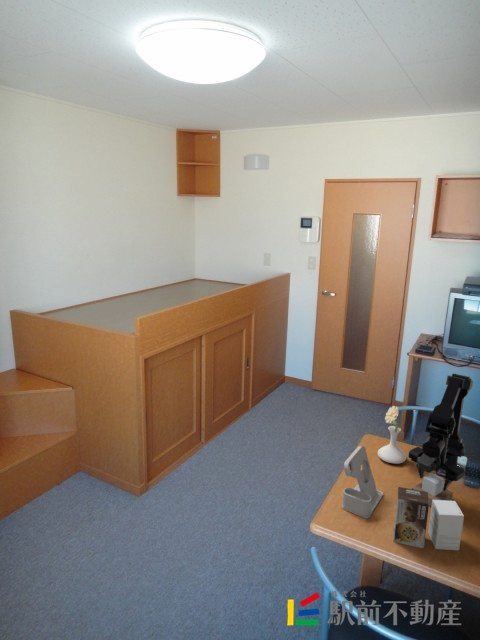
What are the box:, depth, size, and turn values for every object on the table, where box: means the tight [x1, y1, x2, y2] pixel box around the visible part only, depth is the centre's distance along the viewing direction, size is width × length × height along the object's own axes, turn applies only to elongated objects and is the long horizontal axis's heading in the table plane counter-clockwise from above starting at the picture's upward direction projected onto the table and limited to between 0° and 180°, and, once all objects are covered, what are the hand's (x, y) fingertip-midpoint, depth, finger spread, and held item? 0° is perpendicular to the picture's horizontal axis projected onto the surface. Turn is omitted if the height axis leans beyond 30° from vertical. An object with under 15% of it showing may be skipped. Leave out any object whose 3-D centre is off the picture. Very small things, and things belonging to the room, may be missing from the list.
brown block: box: [411, 481, 454, 508], centre depth 163 cm, size 10×10×3 cm
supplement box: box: [427, 500, 465, 551], centre depth 140 cm, size 7×7×13 cm
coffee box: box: [393, 486, 430, 549], centre depth 141 cm, size 9×6×16 cm
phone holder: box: [341, 445, 384, 519], centre depth 159 cm, size 17×10×18 cm, turn 145°
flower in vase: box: [377, 405, 407, 465], centre depth 184 cm, size 13×11×25 cm
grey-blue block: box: [422, 472, 445, 496], centre depth 162 cm, size 5×5×5 cm
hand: (432, 483), depth 162 cm, fingers open, 9 cm apart
